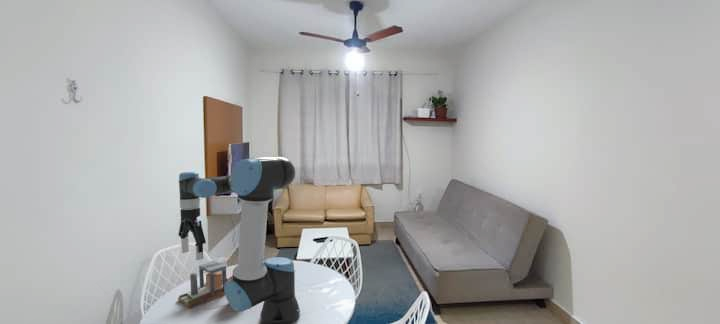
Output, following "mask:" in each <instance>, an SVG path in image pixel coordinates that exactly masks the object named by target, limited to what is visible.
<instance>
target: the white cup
mask: <svg viewBox="0 0 720 324" xmlns="http://www.w3.org/2000/svg"><path fill="white" fill-rule="evenodd" d="M212 261H215V262H218V263H220V264H222V265H224V266H226V270H227V263H228V262H227V257H225V256H217V257H214V258H211V259H210V260H209V262H212ZM218 272H220V273H222V270H221V271H218ZM222 280H223V279H222Z"/></svg>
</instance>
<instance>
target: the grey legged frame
mask: <svg viewBox="0 0 720 324" xmlns="http://www.w3.org/2000/svg"><path fill="white" fill-rule="evenodd" d="M221 270H222V279H223V280H222V284H223V288H220V289H218V290H215V291H214V273H216V272H218V271H221ZM198 271H199V273H198V274H199V288H198V289H200V288H203V287H206V285H204V283H205V281H204V277H205V276H204V271H205V272H206V273H207V274H208V273H210V293H208V294H205V295H203V296H200V297H198V298H195V299H193V298H191V297H189V296H188V293H189V292H190V291H189V292H186V293H183V294H181V295H179V296H178V297H177V299H178V300H177V301H179V302H180V303H182V304H183V305H184V306H185V307H187V308H189V309H192V308H194V307H197V306H199V305H202V304H204V303H207V302H209V301H211V300H213V299H214V300H215V299H216V298H218V297H221V296H224V295H225V291H224V286H225V283H226V282H227V280H228V279H229V278H227V269H226V266H224V265H222V264H220V263H218V262H215V261H212V262H210V261H209V262H205V263H203V264H198Z"/></svg>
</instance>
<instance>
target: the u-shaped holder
mask: <svg viewBox="0 0 720 324" xmlns="http://www.w3.org/2000/svg"><path fill="white" fill-rule="evenodd" d="M189 277H190V279H189V281H190V291H189V293H188V292H187V293H188V296H189V297H191V298H193V299H195V298H198V297H200V296H203V295H205V294H208V293H210V273H208V272H207V273H206V274H205V286H206V287H203V288H200V287H199V288H200V289H199V288H198V273H197V272H192V273H190V274H189ZM220 288H223V284H222V273H220V272H216V273H214V291H215V290H218V289H220Z"/></svg>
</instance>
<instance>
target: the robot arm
mask: <svg viewBox="0 0 720 324" xmlns="http://www.w3.org/2000/svg"><path fill="white" fill-rule="evenodd" d="M295 177H296V168H295V165H294V164H293V163H292V162H291V160H289V159H287V158H285V157H282V156H269V157H268V156H267V157H266V156H264V157H250V158H245V159H241V160H238V162H237V163H236V164H235V165H234V167H233V168H232V170H231V173H230V175H225V176H224V175H223V176H214V177H212V176H211V177H206V178H205V177H204V178H200V175H199V173H198V172H197V171H185V172H181V173H179V175H178V188H179V208H180V211H179V212H180V225H179V230H178V234H177V236H178V237H180V239H181V240H180V241H181V254H186V253H189V251H190V249H189V245H190V244H189V237H190V236H189V233H190V232H191V233H192V236H193V238H194V241H195V244H194V247H195V260H196V261H200V260H203V259H204V244H206V243H207V240H206V238H205V234H204V229H203V227H202V221H201V220H198V217H200V216H201V208H200V206H201V205H200V204H201V199H204V198H205V199H210V198H211V197H213V196H216V195H217V196H218V195H223V194H229V193H235V194H236V195H237V199H238V200H240V202H241V209H240V210H241V211H240V228H239V239H238V240H239V243H238V258H237V265H236V266H235V267H234V268H233V270H232V274H231V275H232V279H229V278H228V279H229V280H228V281H227V282H226V283H225V286H224V291H225V294H224V295H225V298H226V300H227V302H228V304H229V306H230V308H232V309H233V310H234V311H236V312H238V313H241V312H244V311H247V310H251V309H252V308H254V307H256V306H257V305H260V304H261V303H263V304H262V309H261V310H260V322H261V324H293V323H296V321H297V320H298V319H299V318H300V315H301V314H300V313H301V311H300V306H299V305H300V304H299V303H298V300H297V298H296V297H297V296H296V294H295V292H296V291H295V290H296V289H295V278H296V277H295V276H296V275H295V272H296V270H295V264H294V262H293V260H292V259H290V258H288V257H280V256H279V257H277V256H276V257H275V256H274V257H270V258H266V259H265V249H266V248H265V247H266V235H267V221H268V211H269V203H270V202H271V201H273V199H274V193H275V191H276V190H280V189H284V188H287V187H289V186H290V185H291V184H292V183H293V182H294V179H295ZM200 198H201V199H200Z"/></svg>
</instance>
